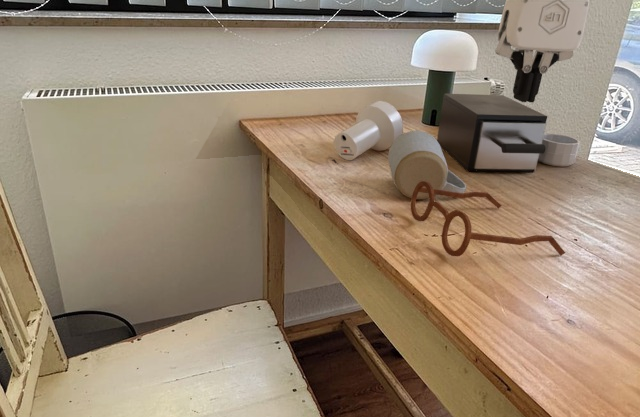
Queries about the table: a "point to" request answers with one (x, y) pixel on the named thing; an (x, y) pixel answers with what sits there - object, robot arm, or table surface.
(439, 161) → the ceramic mug
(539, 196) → the table surface
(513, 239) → the glasses
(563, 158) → the white rounded cylinder
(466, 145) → the dark brown hollow box
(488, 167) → the drawer
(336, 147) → the spotlight
